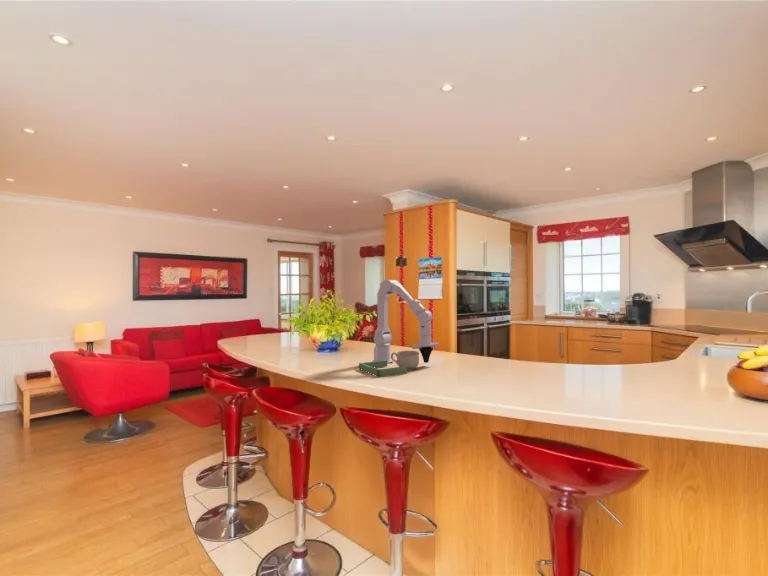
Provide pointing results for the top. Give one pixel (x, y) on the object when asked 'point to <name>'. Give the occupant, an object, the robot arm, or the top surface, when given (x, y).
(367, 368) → the green bay
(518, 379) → the top surface
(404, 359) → the teacup
